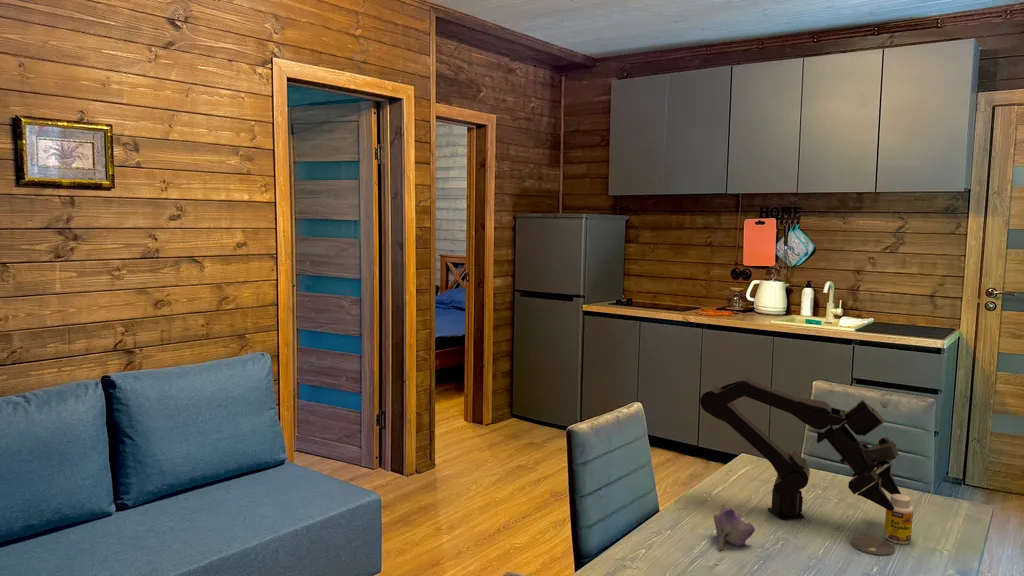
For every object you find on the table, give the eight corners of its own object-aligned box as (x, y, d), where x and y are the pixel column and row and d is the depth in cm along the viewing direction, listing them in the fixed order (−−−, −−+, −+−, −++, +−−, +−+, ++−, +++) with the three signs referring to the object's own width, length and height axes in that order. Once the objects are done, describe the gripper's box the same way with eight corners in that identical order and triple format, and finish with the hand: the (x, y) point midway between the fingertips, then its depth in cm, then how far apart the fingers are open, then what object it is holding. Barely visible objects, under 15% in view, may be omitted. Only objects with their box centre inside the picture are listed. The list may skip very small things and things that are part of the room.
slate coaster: (869, 557, 160) (869, 555, 160) (841, 539, 168) (841, 537, 168) (904, 553, 162) (904, 551, 162) (874, 536, 171) (874, 534, 171)
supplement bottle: (886, 542, 167) (889, 499, 166) (881, 532, 173) (884, 491, 172) (913, 546, 166) (916, 503, 165) (908, 536, 171) (911, 494, 170)
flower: (739, 531, 156) (742, 496, 164) (702, 538, 161) (706, 504, 169) (758, 560, 159) (760, 525, 167) (721, 566, 164) (724, 531, 172)
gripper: (866, 437, 163) (919, 498, 157) (884, 420, 178) (933, 474, 172) (827, 464, 169) (877, 523, 163) (848, 445, 183) (894, 498, 178)
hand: (896, 503), depth 169 cm, fingers open, 9 cm apart
